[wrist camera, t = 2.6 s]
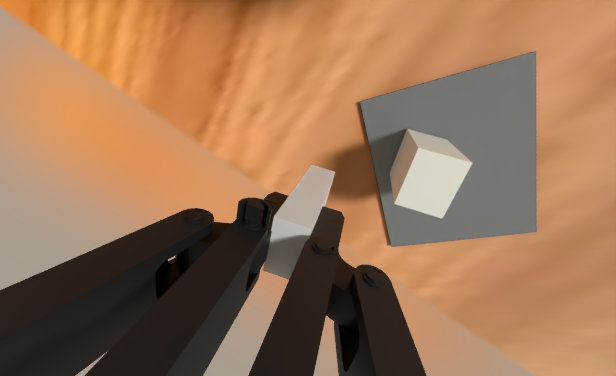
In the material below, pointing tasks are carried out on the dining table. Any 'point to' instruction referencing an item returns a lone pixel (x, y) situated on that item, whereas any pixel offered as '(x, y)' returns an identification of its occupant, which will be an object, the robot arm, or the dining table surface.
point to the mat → (464, 150)
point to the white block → (427, 173)
